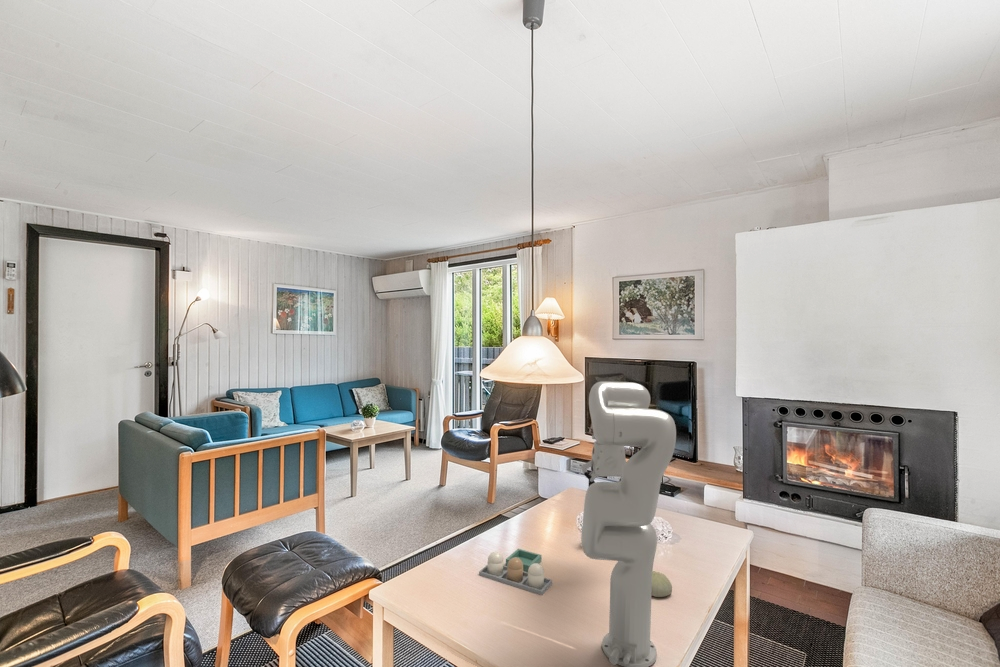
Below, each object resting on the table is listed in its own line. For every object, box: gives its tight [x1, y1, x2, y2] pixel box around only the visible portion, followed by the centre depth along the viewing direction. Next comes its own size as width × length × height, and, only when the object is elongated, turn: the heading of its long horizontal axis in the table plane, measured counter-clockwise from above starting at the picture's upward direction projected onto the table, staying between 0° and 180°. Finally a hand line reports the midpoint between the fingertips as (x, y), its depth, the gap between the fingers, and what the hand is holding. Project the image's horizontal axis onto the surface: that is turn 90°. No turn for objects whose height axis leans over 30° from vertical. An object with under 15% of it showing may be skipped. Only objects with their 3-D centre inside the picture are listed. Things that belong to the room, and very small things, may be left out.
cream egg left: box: [487, 551, 504, 577], centre depth 149 cm, size 5×5×6 cm
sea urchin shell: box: [651, 571, 673, 598], centre depth 142 cm, size 9×8×8 cm
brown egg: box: [507, 557, 523, 583], centre depth 146 cm, size 5×5×6 cm
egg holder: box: [505, 548, 543, 573], centre depth 155 cm, size 9×9×3 cm
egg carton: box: [478, 564, 553, 596], centre depth 146 cm, size 7×21×2 cm, turn 61°
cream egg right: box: [527, 563, 545, 590], centre depth 142 cm, size 5×5×6 cm
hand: (607, 492), depth 151 cm, fingers open, 9 cm apart
